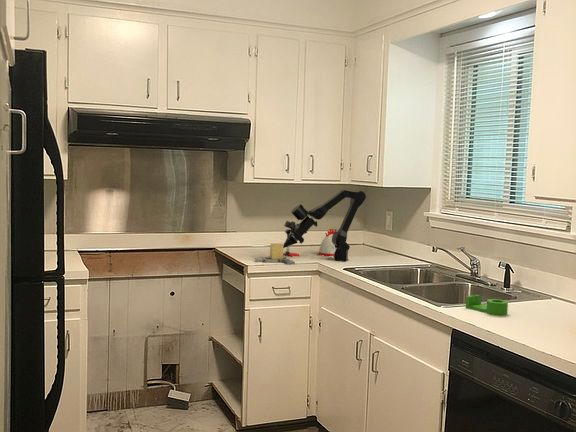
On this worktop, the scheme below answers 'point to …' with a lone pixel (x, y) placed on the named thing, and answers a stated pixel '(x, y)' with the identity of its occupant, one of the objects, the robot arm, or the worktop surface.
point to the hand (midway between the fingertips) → (282, 247)
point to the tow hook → (289, 253)
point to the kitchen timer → (327, 245)
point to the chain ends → (275, 260)
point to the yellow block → (276, 251)
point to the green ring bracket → (492, 305)
